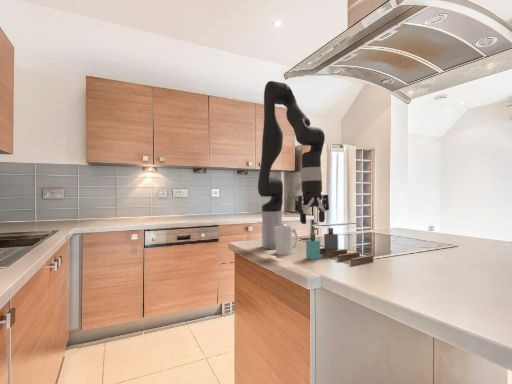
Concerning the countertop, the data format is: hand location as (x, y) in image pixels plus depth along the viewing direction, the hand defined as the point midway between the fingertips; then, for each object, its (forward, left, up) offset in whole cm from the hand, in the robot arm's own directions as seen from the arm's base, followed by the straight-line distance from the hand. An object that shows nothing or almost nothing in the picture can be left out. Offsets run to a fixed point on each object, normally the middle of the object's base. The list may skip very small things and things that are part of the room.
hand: (312, 222), depth 106 cm
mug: (-13, -3, -15) cm, 20 cm away
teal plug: (0, 0, -15) cm, 15 cm away
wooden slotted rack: (+5, +10, -15) cm, 18 cm away
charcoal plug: (-1, +10, -13) cm, 17 cm away
